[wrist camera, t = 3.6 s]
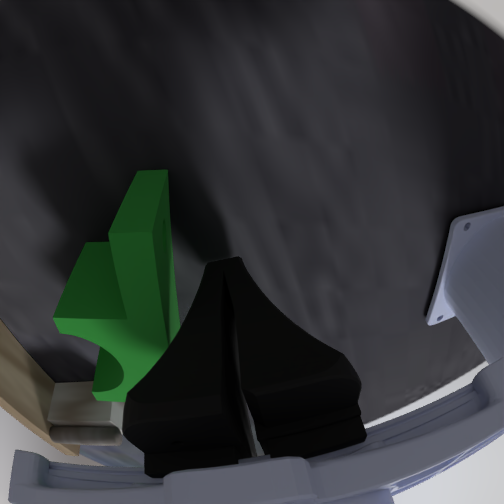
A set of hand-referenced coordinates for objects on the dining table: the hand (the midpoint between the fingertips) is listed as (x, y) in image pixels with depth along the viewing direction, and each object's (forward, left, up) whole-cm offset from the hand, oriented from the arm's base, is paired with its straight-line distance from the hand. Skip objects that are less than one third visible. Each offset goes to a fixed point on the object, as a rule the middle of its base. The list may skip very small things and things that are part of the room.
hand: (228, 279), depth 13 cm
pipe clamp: (+4, 0, -1) cm, 4 cm away
